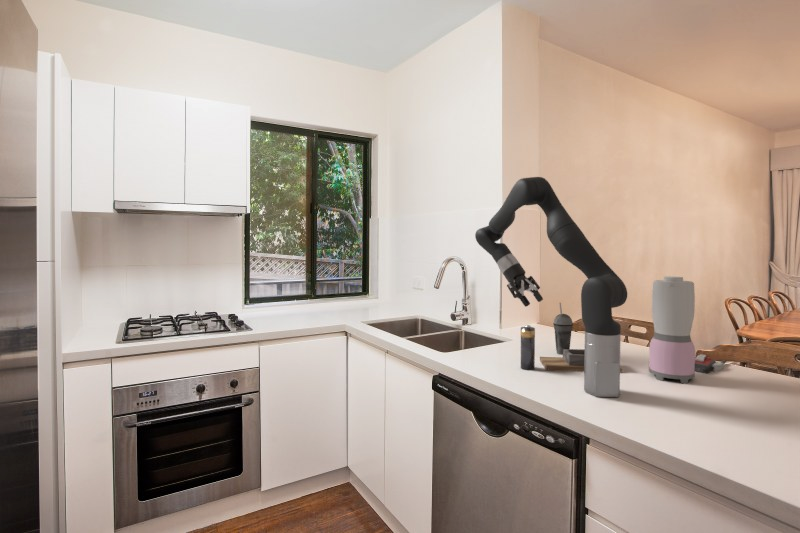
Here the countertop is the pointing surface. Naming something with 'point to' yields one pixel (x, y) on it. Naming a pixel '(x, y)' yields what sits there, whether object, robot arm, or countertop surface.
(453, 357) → the countertop surface
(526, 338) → the cell
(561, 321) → the beverage cup
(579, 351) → the wood and grey block
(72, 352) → the countertop surface
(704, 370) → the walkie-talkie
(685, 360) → the blender
